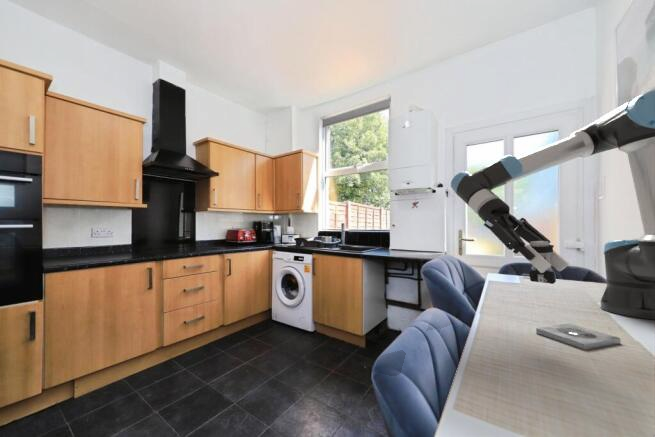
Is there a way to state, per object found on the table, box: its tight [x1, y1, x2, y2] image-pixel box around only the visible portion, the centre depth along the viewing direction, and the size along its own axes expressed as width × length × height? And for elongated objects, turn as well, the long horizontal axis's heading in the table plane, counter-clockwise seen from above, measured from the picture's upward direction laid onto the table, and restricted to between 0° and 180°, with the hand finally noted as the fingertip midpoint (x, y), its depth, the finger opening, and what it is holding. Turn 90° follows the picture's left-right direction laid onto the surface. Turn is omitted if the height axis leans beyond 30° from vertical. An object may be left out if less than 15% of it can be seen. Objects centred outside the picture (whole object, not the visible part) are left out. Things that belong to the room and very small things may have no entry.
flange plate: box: [535, 323, 622, 351], centre depth 62 cm, size 12×10×1 cm
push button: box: [522, 241, 557, 285], centre depth 64 cm, size 7×5×10 cm
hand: (555, 268), depth 60 cm, fingers closed on push button, 5 cm apart
